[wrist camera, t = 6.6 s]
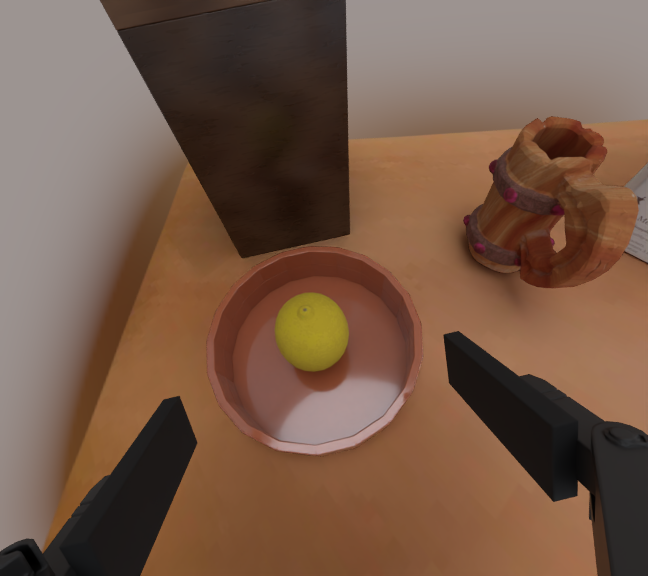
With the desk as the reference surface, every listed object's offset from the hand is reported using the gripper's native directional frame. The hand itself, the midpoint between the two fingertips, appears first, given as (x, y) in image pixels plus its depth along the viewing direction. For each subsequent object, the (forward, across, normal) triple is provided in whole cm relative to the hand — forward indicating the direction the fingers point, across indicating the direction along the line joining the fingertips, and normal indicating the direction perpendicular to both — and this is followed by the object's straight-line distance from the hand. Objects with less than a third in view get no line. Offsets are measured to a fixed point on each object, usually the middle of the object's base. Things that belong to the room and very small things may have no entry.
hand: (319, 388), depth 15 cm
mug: (+15, +19, -1) cm, 24 cm away
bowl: (+12, 0, -4) cm, 12 cm away
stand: (+24, 0, +9) cm, 26 cm away
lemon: (+11, 0, -4) cm, 12 cm away
